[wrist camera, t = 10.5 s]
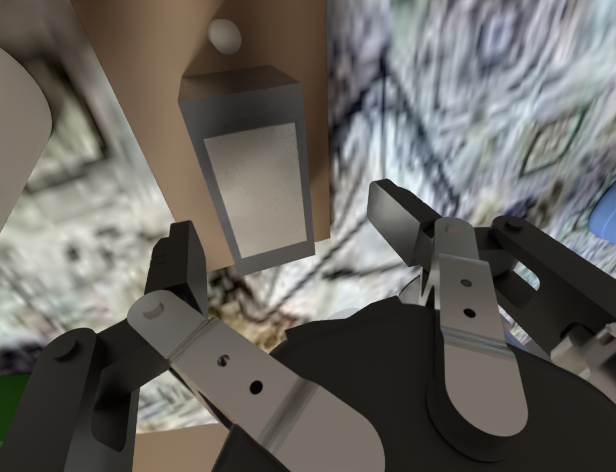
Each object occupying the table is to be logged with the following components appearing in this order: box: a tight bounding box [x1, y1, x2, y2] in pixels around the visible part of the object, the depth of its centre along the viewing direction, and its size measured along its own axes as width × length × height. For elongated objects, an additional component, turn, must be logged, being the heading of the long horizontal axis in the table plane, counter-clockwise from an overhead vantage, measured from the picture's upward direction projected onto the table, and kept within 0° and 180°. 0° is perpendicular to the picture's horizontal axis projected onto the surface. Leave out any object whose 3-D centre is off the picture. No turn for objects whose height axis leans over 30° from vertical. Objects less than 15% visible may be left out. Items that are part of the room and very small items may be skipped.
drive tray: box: [70, 0, 330, 272], centre depth 17 cm, size 12×19×5 cm, turn 4°
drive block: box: [178, 65, 315, 277], centre depth 16 cm, size 5×10×6 cm, turn 4°
